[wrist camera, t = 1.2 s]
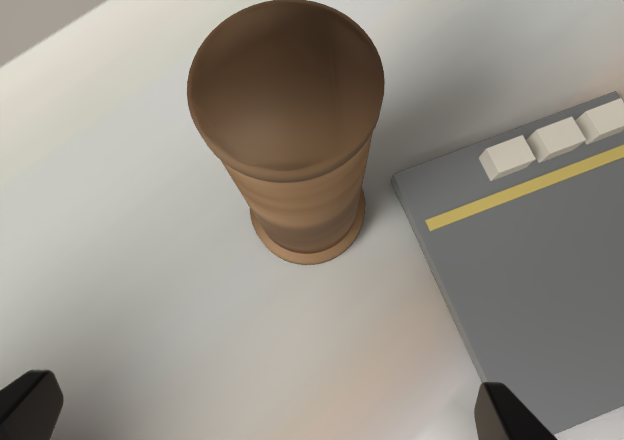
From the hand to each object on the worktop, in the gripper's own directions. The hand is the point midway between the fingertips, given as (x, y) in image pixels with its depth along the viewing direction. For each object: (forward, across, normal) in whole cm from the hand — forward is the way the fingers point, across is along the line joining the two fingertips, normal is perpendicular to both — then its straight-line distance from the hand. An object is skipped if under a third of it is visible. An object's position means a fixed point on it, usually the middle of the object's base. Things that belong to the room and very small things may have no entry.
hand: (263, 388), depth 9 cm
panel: (+13, -13, +6) cm, 20 cm away
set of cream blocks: (+17, -13, +1) cm, 21 cm away
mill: (+15, 0, +4) cm, 15 cm away
